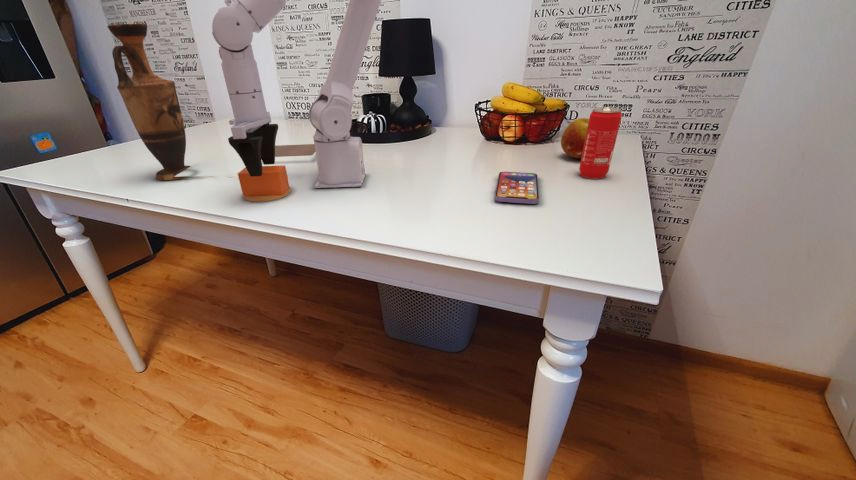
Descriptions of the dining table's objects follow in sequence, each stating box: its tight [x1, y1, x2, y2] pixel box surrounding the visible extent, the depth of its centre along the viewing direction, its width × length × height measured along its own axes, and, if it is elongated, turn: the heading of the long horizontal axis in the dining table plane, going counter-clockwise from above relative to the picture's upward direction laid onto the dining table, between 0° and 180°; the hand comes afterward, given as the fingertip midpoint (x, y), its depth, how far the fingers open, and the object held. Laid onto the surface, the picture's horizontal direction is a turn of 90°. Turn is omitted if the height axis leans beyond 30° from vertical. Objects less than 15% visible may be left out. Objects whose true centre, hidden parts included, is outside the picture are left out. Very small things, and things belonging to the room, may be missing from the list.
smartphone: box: [494, 171, 540, 205], centre depth 73 cm, size 1×7×15 cm
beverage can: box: [579, 107, 623, 180], centre depth 75 cm, size 5×5×12 cm
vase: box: [106, 23, 192, 181], centre depth 86 cm, size 11×11×30 cm
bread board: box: [275, 143, 316, 158], centre depth 103 cm, size 16×12×2 cm
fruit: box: [560, 117, 589, 159], centre depth 87 cm, size 10×9×8 cm
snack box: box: [237, 164, 290, 197], centre depth 78 cm, size 8×4×4 cm, turn 86°
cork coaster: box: [243, 186, 292, 203], centre depth 79 cm, size 9×9×1 cm
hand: (263, 169), depth 77 cm, fingers open, 7 cm apart
